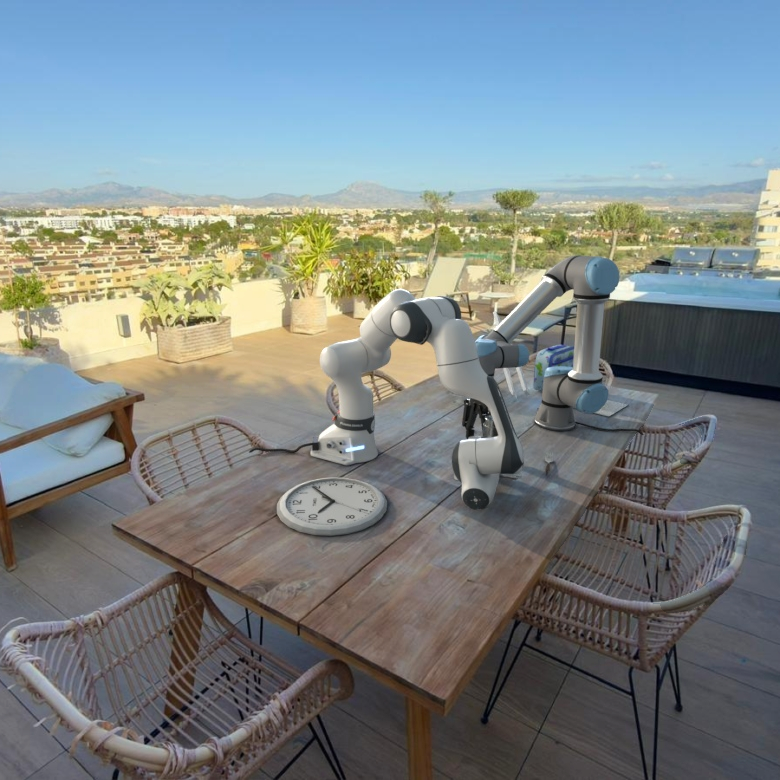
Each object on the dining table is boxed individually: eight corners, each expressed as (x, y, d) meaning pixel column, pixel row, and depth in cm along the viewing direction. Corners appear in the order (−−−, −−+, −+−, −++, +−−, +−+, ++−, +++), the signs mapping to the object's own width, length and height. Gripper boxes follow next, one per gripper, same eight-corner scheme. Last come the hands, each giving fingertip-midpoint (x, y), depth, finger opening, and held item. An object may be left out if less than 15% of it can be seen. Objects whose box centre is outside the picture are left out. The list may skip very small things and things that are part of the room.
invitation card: (608, 416, 214) (573, 407, 224) (608, 416, 214) (573, 408, 224) (628, 404, 229) (594, 396, 238) (628, 405, 229) (594, 397, 238)
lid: (472, 449, 175) (472, 443, 174) (464, 442, 180) (465, 436, 179) (488, 448, 176) (489, 441, 176) (480, 441, 182) (481, 434, 181)
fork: (541, 476, 161) (542, 470, 161) (545, 456, 176) (546, 450, 175) (550, 477, 161) (551, 471, 160) (553, 457, 175) (554, 451, 174)
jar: (484, 468, 166) (488, 413, 161) (500, 473, 163) (505, 417, 158) (476, 474, 162) (480, 418, 156) (493, 479, 159) (497, 422, 154)
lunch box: (550, 397, 237) (555, 352, 231) (529, 391, 245) (533, 348, 238) (577, 386, 255) (582, 344, 249) (556, 381, 262) (561, 340, 256)
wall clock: (392, 527, 129) (268, 531, 127) (391, 533, 130) (269, 537, 127) (383, 473, 158) (282, 475, 155) (383, 478, 158) (282, 480, 156)
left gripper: (522, 469, 145) (525, 450, 158) (449, 458, 151) (458, 441, 164) (520, 489, 147) (523, 469, 160) (448, 478, 153) (457, 459, 166)
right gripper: (453, 381, 177) (449, 444, 184) (494, 396, 163) (488, 463, 169) (470, 378, 182) (465, 439, 188) (511, 392, 167) (504, 458, 174)
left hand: (490, 454), depth 162 cm, fingers closed on jar, 5 cm apart
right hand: (476, 451), depth 179 cm, fingers closed on lid, 6 cm apart
